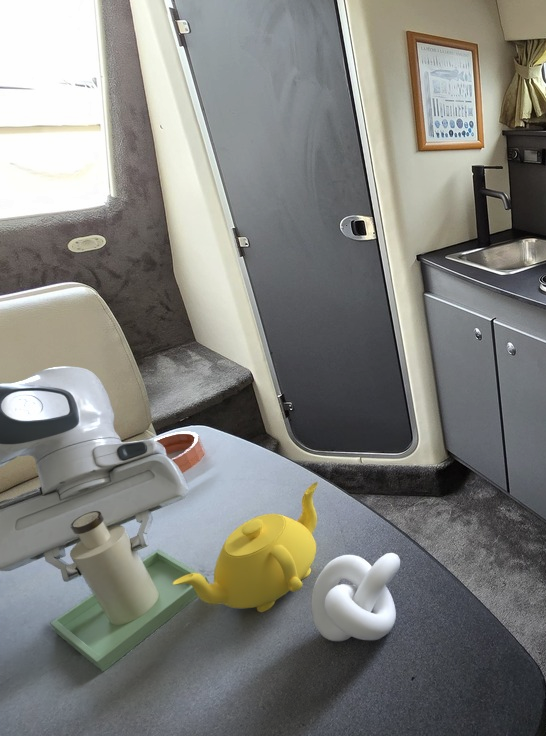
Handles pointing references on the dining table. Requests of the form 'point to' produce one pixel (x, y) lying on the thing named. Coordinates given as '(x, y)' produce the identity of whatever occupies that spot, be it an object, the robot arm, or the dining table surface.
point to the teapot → (261, 560)
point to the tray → (112, 642)
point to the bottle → (112, 569)
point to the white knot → (355, 598)
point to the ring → (183, 448)
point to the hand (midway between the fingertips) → (108, 562)
